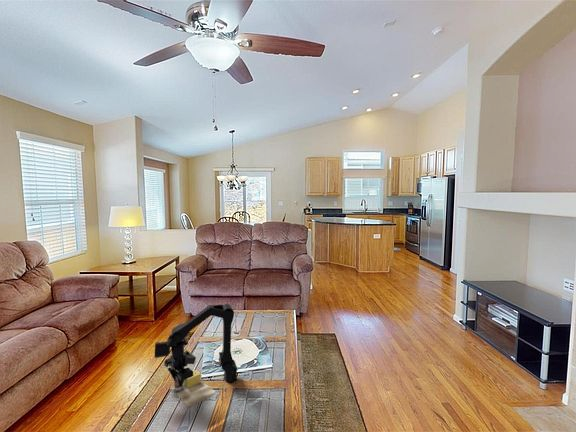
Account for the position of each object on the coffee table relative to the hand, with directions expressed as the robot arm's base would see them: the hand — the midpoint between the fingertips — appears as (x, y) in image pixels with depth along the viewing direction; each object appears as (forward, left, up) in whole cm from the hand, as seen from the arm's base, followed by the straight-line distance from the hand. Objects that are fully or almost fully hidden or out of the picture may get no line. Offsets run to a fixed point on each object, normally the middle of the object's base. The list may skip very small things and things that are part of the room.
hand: (178, 384), depth 152 cm
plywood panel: (-5, -4, -3) cm, 8 cm away
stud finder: (0, -7, -2) cm, 7 cm away
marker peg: (0, 0, -2) cm, 2 cm away
